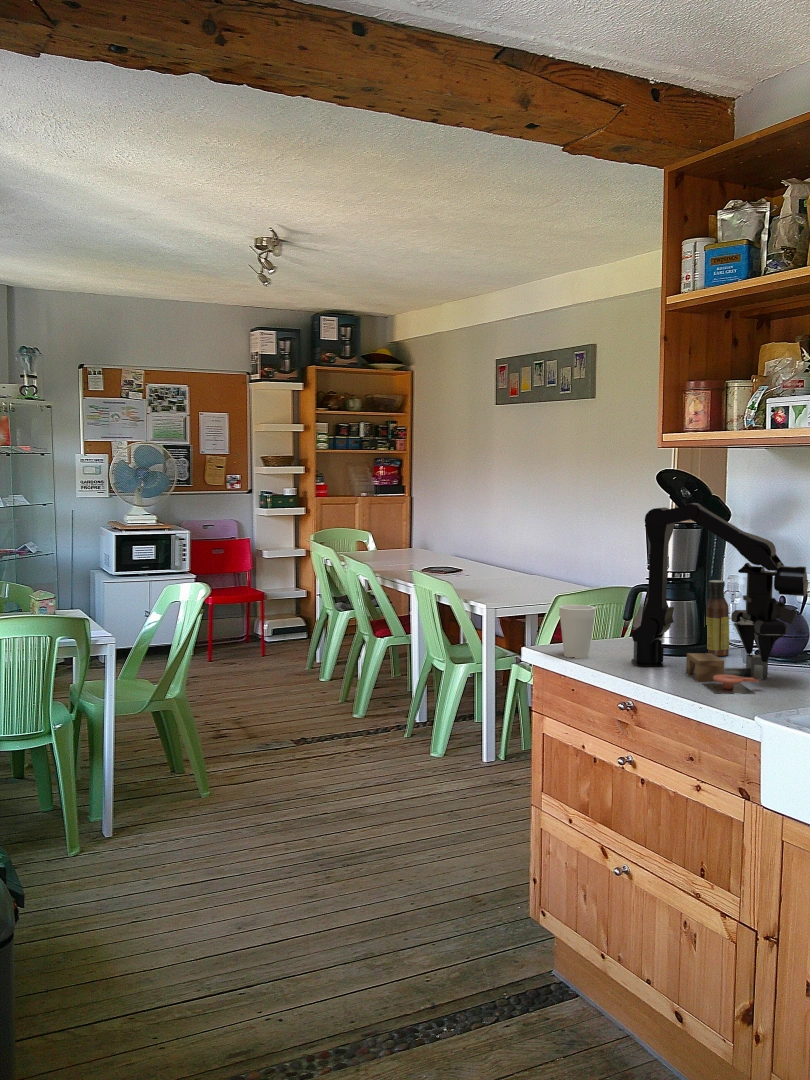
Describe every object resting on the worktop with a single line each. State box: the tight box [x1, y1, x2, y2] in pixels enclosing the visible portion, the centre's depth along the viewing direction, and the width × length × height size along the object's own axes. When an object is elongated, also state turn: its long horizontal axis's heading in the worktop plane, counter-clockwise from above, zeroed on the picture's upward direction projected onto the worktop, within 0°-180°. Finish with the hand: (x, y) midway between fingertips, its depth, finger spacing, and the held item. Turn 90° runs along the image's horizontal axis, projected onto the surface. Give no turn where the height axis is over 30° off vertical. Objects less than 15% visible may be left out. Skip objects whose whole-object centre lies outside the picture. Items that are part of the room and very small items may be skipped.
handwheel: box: [713, 665, 764, 689], centre depth 210 cm, size 11×6×5 cm, turn 82°
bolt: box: [692, 654, 769, 679], centre depth 222 cm, size 17×3×5 cm, turn 91°
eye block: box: [685, 652, 725, 683], centre depth 222 cm, size 6×9×5 cm
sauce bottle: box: [705, 579, 730, 657], centre depth 248 cm, size 7×6×20 cm
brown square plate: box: [700, 682, 756, 695], centre depth 211 cm, size 9×9×1 cm
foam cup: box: [558, 604, 596, 659], centre depth 246 cm, size 10×9×13 cm
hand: (756, 657), depth 222 cm, fingers open, 9 cm apart
